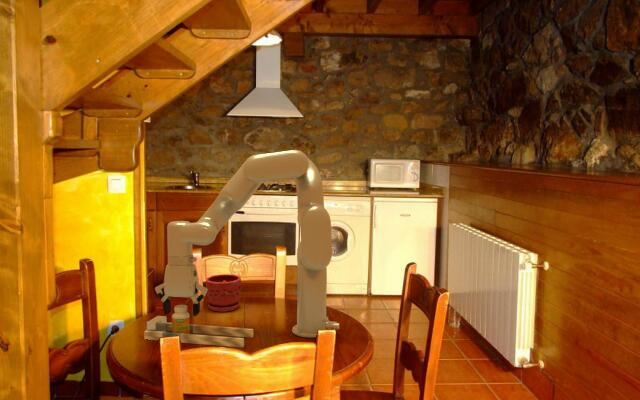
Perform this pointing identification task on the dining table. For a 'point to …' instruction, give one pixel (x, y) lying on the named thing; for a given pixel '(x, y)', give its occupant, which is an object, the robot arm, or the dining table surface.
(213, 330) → the guide channel
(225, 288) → the plant pot
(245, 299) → the dining table surface
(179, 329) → the supplement bottle
